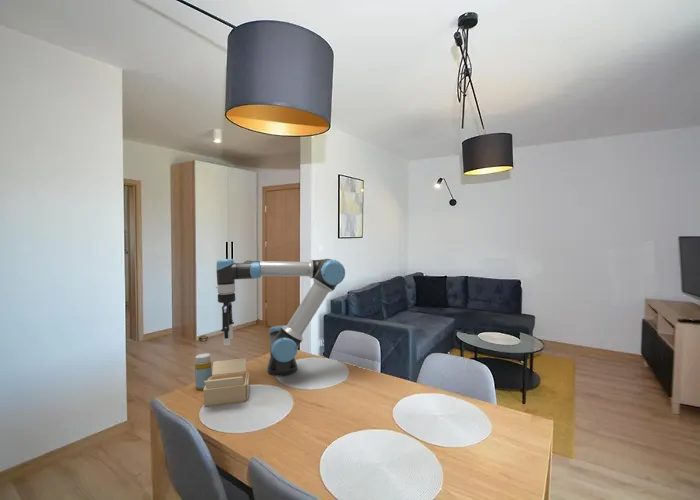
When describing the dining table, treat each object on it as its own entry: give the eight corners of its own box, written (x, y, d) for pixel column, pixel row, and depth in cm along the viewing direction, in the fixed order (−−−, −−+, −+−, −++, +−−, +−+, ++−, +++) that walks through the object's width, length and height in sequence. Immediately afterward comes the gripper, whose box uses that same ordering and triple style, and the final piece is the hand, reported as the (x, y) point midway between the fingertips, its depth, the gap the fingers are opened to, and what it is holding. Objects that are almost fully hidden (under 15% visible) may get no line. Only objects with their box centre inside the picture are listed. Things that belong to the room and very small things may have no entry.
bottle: (208, 390, 153) (207, 358, 153) (193, 390, 153) (191, 358, 153) (214, 384, 160) (213, 352, 160) (200, 384, 160) (198, 353, 160)
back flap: (246, 358, 159) (246, 358, 159) (213, 361, 155) (213, 361, 156) (245, 371, 155) (245, 371, 155) (212, 375, 151) (212, 375, 152)
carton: (249, 387, 156) (249, 372, 155) (247, 401, 142) (247, 384, 142) (209, 392, 152) (208, 376, 151) (203, 407, 138) (202, 390, 138)
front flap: (204, 380, 134) (204, 381, 134) (242, 376, 137) (242, 377, 137) (206, 387, 138) (206, 388, 138) (243, 383, 142) (243, 384, 141)
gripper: (221, 290, 163) (223, 335, 164) (213, 297, 142) (215, 350, 143) (237, 289, 165) (239, 334, 166) (232, 296, 144) (234, 348, 144)
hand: (228, 341), depth 154 cm, fingers open, 9 cm apart
